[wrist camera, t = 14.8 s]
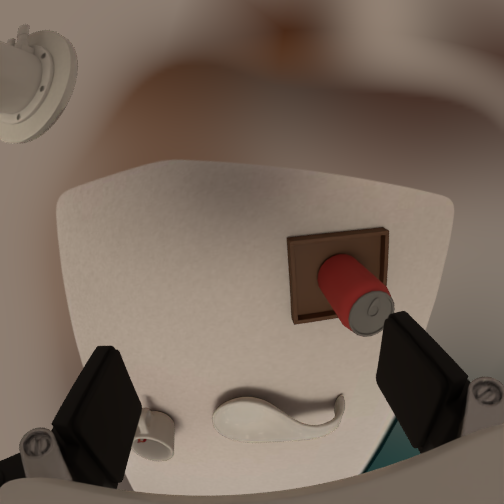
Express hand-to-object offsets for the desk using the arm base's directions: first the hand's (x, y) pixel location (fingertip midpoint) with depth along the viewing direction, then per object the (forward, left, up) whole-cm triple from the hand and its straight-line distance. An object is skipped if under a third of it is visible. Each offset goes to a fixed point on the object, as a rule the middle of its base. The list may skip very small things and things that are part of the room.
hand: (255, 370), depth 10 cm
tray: (+10, +13, -30) cm, 34 cm away
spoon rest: (+35, +3, -31) cm, 47 cm away
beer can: (+10, +13, -30) cm, 34 cm away
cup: (+35, -20, -31) cm, 51 cm away
